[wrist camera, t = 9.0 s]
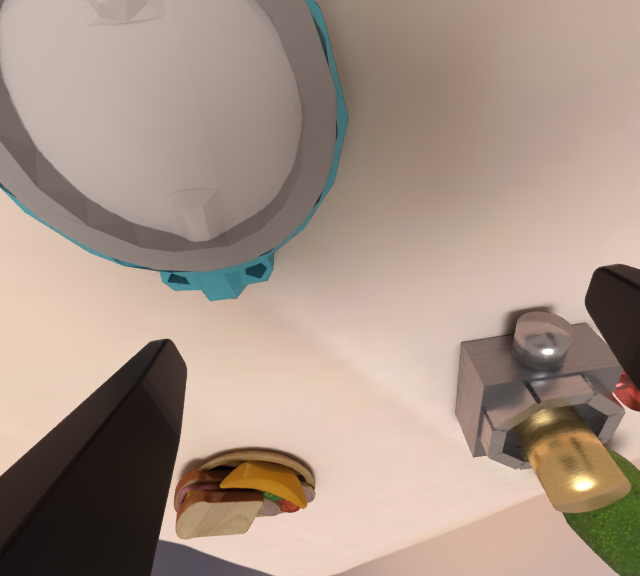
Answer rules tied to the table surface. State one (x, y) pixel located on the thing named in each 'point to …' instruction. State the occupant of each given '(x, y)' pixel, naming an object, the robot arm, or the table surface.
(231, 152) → the butterfly valve
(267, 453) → the toy sandwich meal
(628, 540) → the avocado
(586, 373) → the valve
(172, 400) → the robot arm
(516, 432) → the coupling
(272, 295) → the table surface
